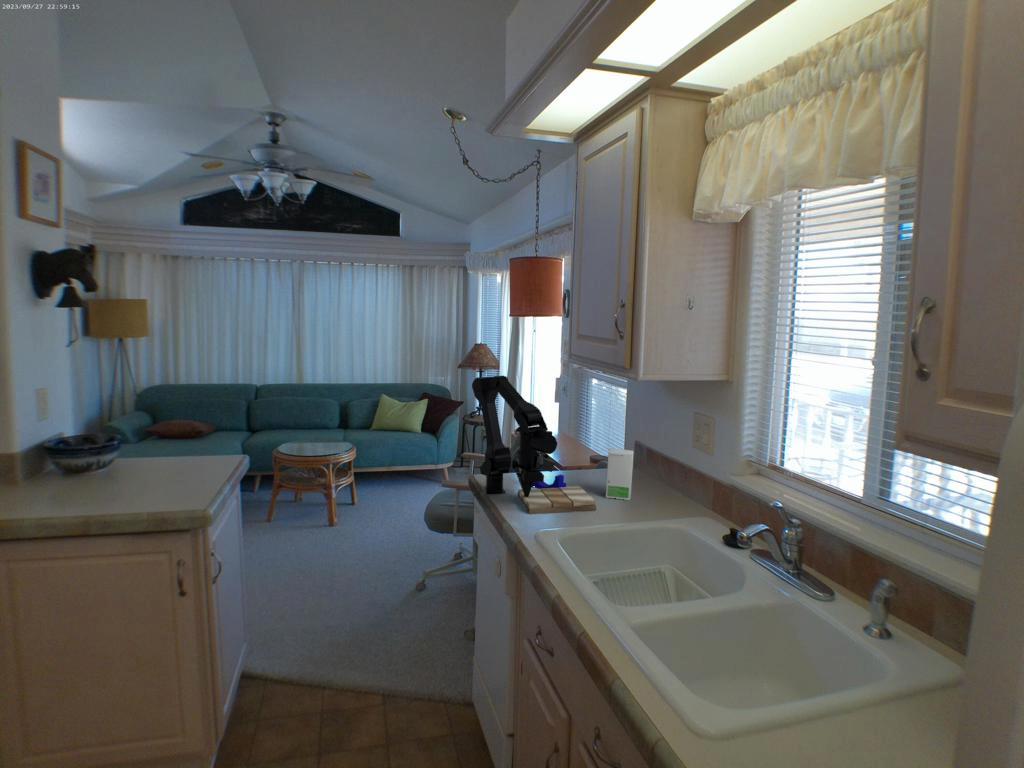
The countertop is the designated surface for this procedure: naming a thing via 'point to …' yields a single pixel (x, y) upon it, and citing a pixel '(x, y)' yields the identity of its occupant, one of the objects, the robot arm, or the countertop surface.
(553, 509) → the board
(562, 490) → the plank far
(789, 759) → the countertop surface
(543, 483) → the cable clip
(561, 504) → the mating strip
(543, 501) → the plank near
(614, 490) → the skincare box
